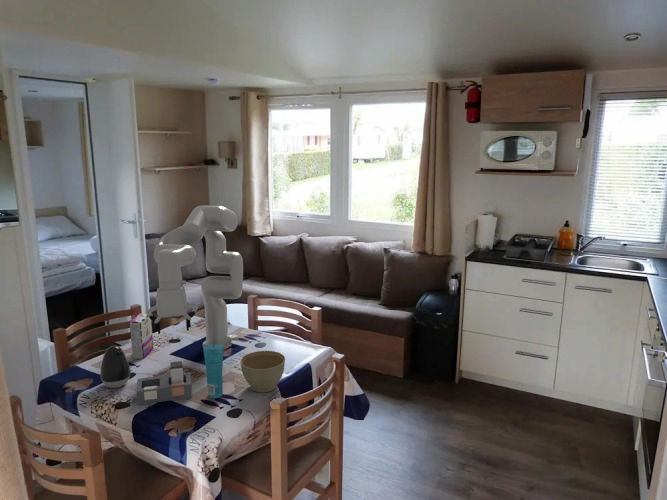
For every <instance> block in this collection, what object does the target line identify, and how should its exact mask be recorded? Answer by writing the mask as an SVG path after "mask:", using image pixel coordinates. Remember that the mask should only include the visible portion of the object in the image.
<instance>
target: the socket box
mask: <svg viewBox="0 0 667 500" xmlns="http://www.w3.org/2000/svg"><path fill="white" fill-rule="evenodd" d="M136 383H137V384H136V388H135V389H136V391H135V392H136V404H137V406H139V405H140V406H141V405H147V404H154V403H160V402H161V403H162V402H168V401H169V402H170V401H174V400H183V399H190V398H193V393H192V391H193V390H192V380H191V371H187V372H183V382H181V383H173V384H172V382H171V374H164V375H157V376H156V375H155V376H148V377H139V378H137V382H136Z"/></svg>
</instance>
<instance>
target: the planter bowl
mask: <svg viewBox="0 0 667 500" xmlns="http://www.w3.org/2000/svg"><path fill="white" fill-rule="evenodd" d="M285 364H286V356H285V355H284V354H282V353H281V352H278V351H275V350H257V351H252V352H249V353H247V354H245V355H244V356H242V357H241V358H240V366H241V373H242V375H243V378H244V379H245V381H246V383H247V384H248V385H249V386H250V389H251V390H252V391H254V392H256V393H267V392H271V391H273V390H275V389H276V388H277V386H278V383H279V382H280V380H281V379H282V377H283V374H284V372H285V371H284V370H285Z"/></svg>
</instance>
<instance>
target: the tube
mask: <svg viewBox="0 0 667 500" xmlns="http://www.w3.org/2000/svg"><path fill="white" fill-rule="evenodd" d="M202 350H203V356H204V365H205V366H204V367H205V373H206V374H205V375H206V384H207V394H208V398H210V399H218V398H221V397H222V396H223V391H224V390H223V389H224V388H223V383H224V382H223V366H224V365H223V364H224V363H223V362H224V350H225V349H224V345H210V344H203V343H202Z"/></svg>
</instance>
